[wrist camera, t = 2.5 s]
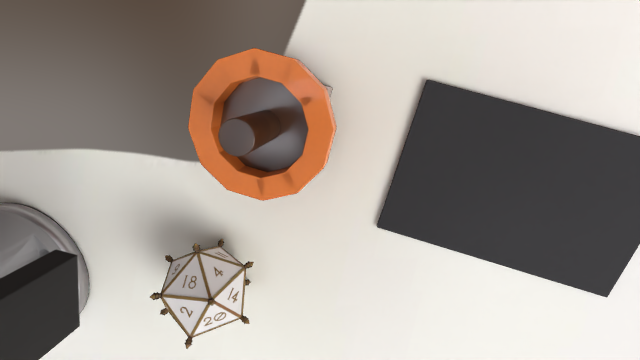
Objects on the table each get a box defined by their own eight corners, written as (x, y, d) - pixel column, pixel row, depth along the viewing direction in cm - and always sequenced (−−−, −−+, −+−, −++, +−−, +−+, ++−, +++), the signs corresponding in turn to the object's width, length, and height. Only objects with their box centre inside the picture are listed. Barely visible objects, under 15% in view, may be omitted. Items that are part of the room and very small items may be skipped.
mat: (377, 225, 31) (377, 227, 31) (426, 79, 27) (427, 79, 27) (604, 294, 30) (607, 297, 29) (691, 150, 26) (696, 151, 25)
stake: (225, 152, 32) (168, 178, 23) (241, 62, 29) (185, 54, 21) (309, 177, 31) (283, 214, 22) (332, 87, 29) (313, 90, 20)
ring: (192, 170, 29) (180, 175, 28) (212, 36, 26) (200, 33, 24) (314, 207, 28) (310, 216, 27) (351, 74, 25) (349, 73, 24)
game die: (248, 236, 38) (272, 247, 29) (242, 317, 37) (266, 354, 28) (157, 234, 34) (152, 246, 25) (149, 323, 34) (141, 369, 24)
